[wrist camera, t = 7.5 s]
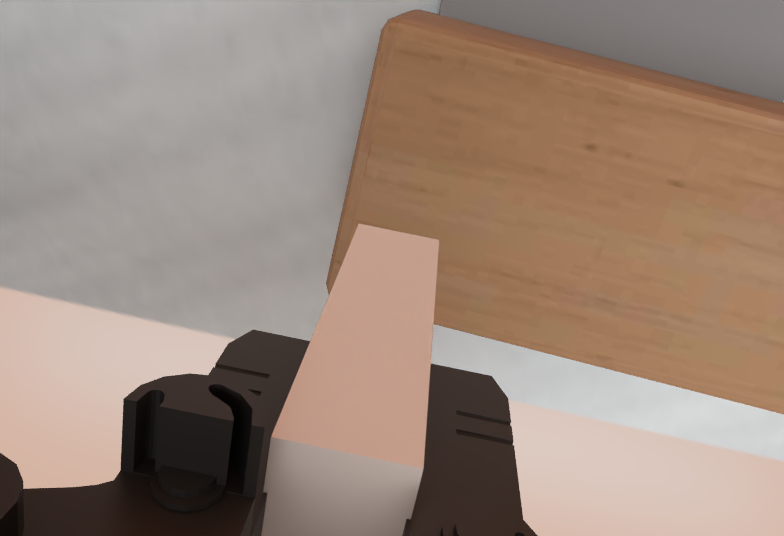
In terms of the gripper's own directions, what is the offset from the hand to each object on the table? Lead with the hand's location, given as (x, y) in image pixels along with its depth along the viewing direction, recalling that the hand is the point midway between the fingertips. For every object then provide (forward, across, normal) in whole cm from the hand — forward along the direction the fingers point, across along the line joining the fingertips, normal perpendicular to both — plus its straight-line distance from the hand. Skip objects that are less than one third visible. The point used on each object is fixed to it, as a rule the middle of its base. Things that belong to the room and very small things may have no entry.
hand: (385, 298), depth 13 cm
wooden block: (+16, -2, -1) cm, 16 cm away
